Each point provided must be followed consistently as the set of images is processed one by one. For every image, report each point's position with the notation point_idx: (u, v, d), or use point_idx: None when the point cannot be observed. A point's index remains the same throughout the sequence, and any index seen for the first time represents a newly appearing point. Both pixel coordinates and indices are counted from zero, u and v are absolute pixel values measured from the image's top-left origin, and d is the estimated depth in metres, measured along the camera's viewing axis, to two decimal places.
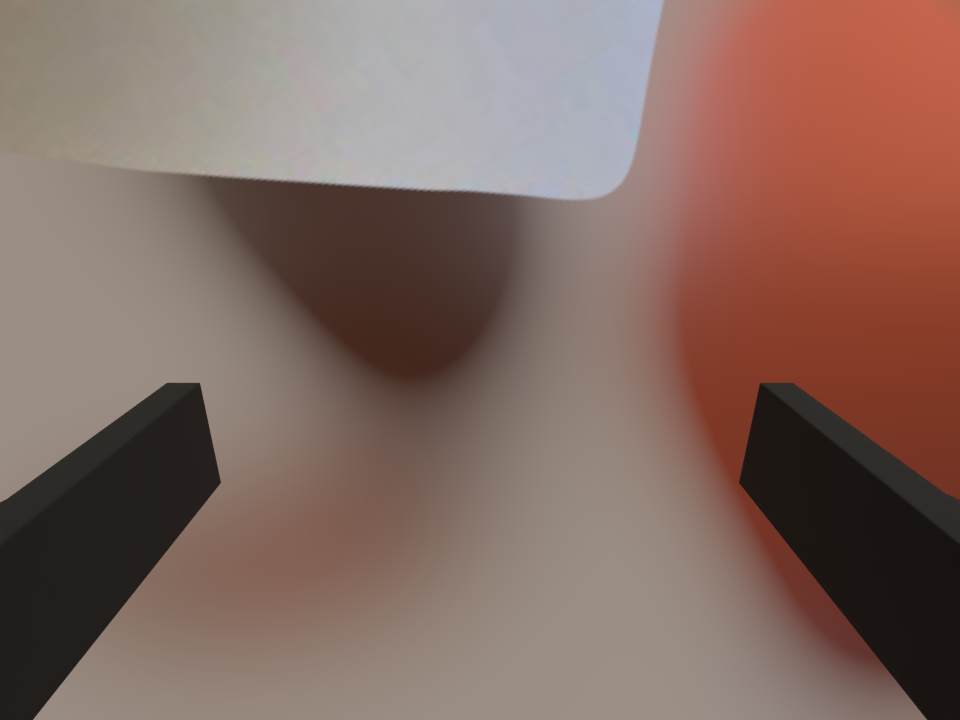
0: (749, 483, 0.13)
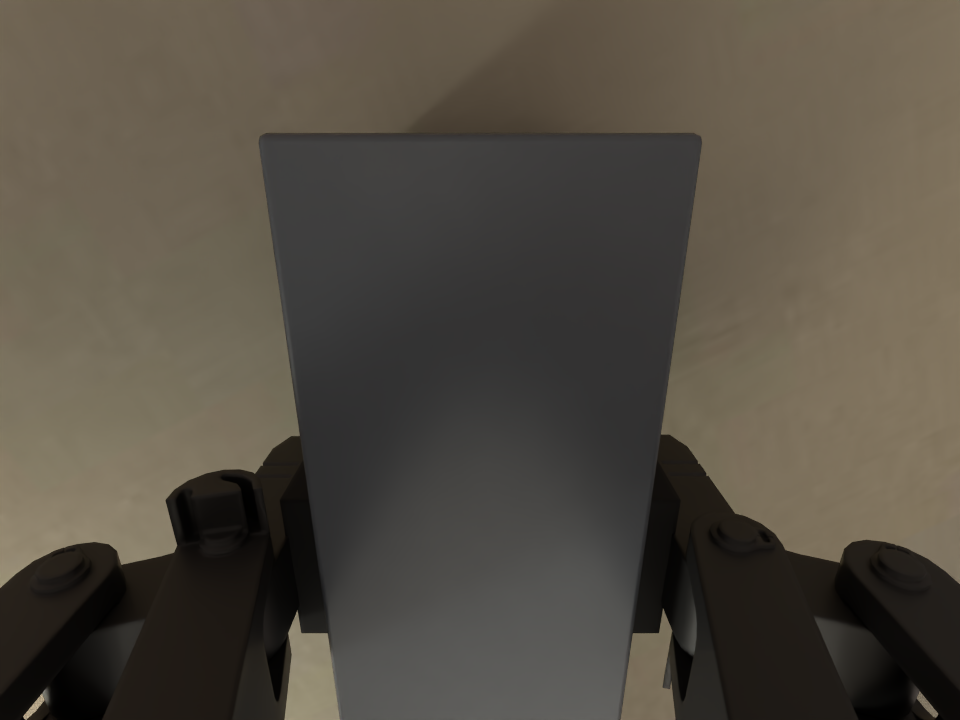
0: None
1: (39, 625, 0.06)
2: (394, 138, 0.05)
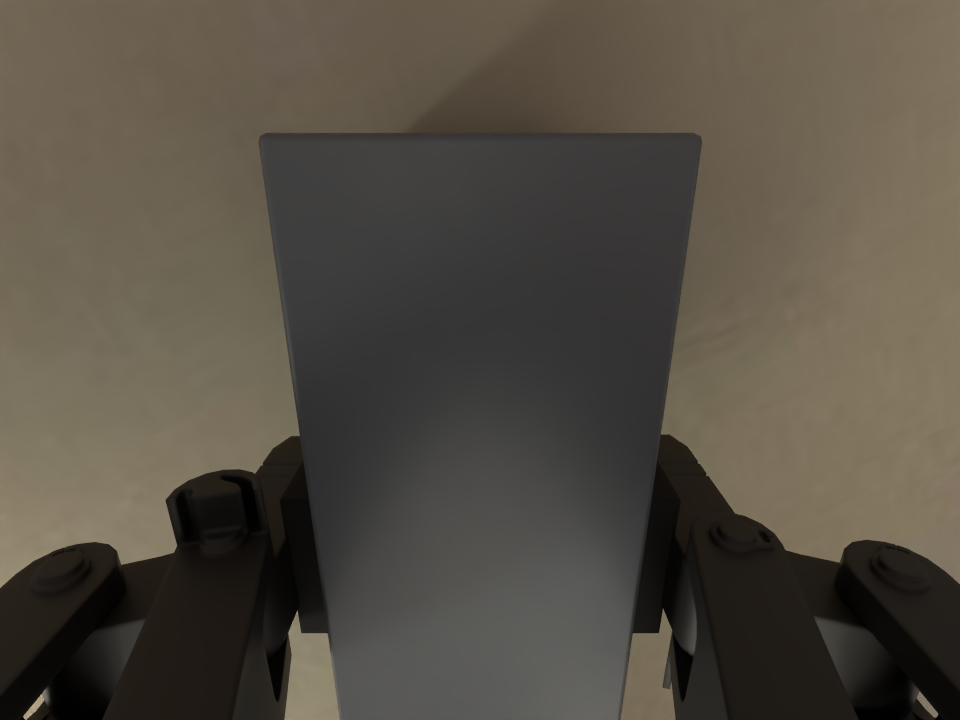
0: None
1: (39, 625, 0.06)
2: (394, 138, 0.05)
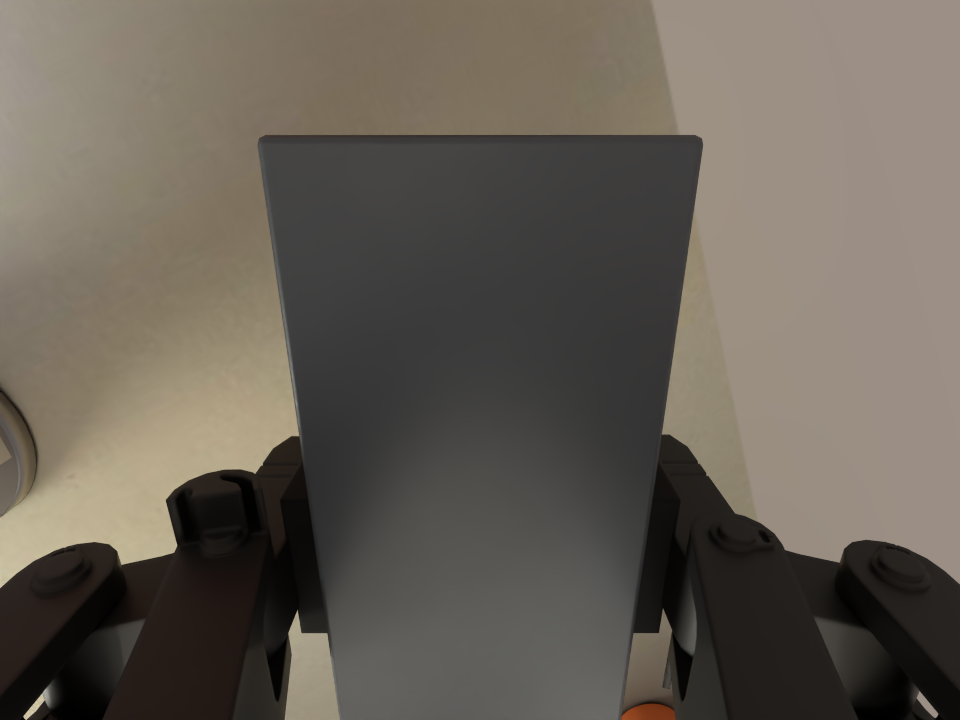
0: None
1: (39, 625, 0.06)
2: (394, 140, 0.05)
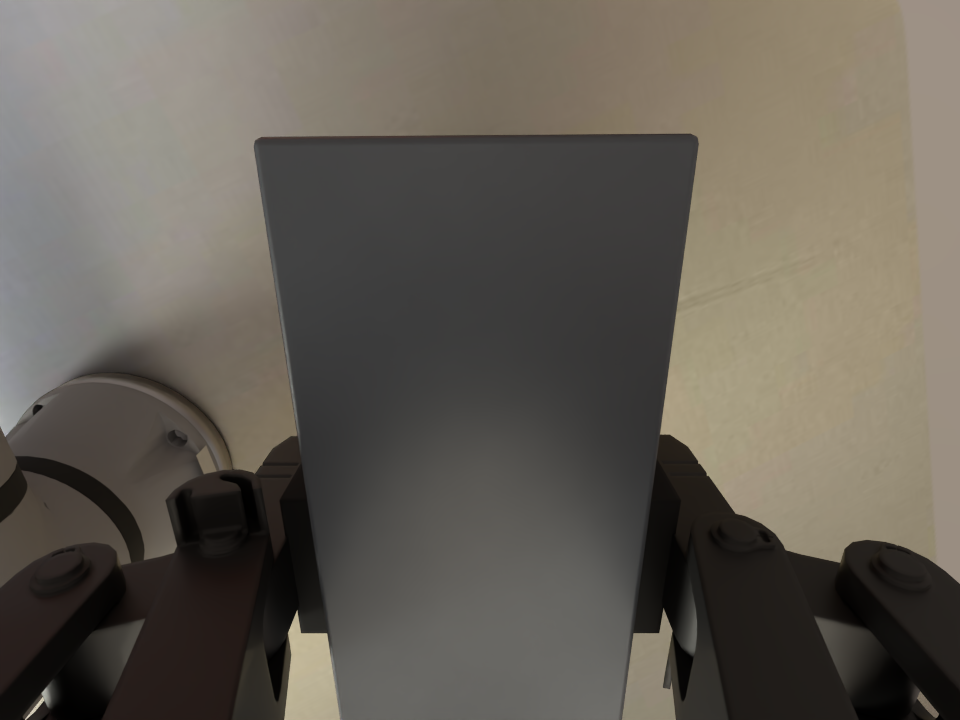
0: None
1: (38, 625, 0.06)
2: (389, 141, 0.05)
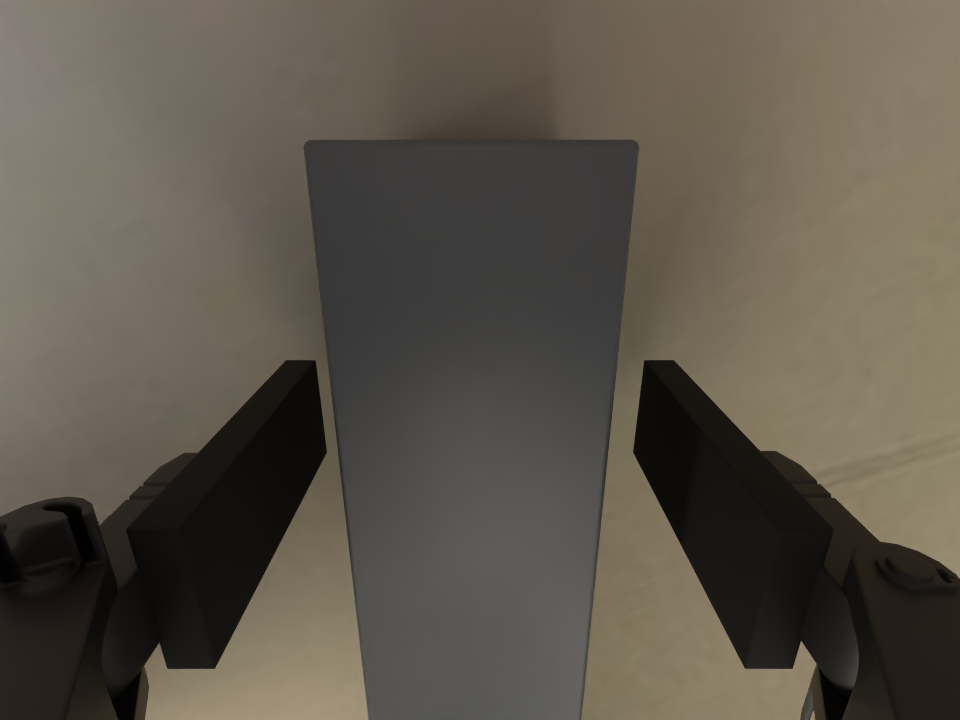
0: (638, 452, 0.14)
1: None
2: (406, 144, 0.07)
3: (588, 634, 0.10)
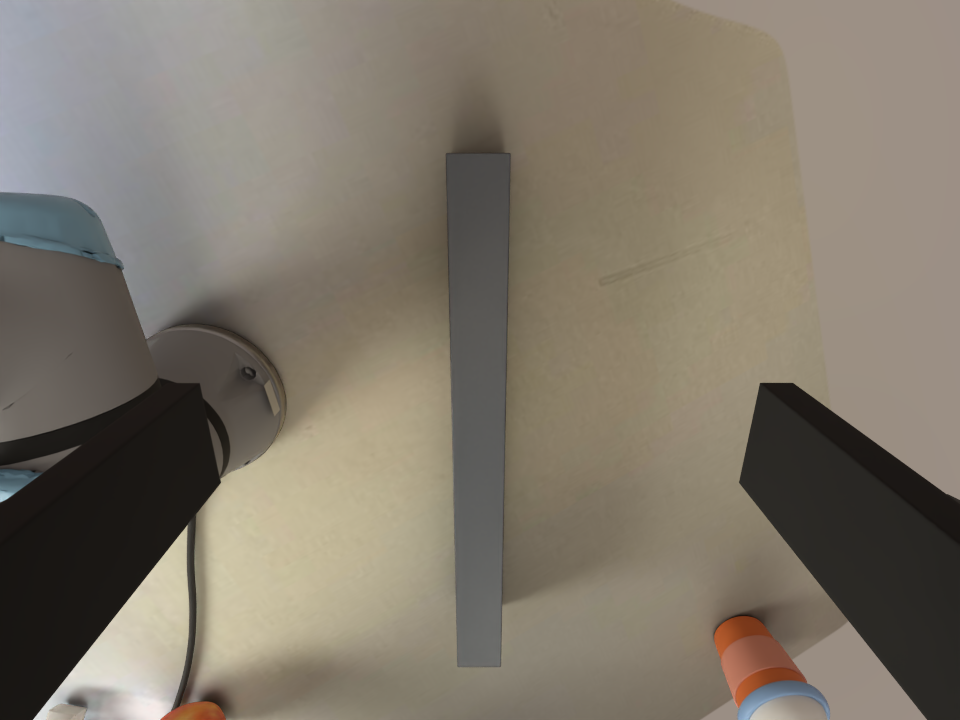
0: (749, 483, 0.13)
1: None
2: (465, 153, 0.37)
3: (507, 278, 0.40)
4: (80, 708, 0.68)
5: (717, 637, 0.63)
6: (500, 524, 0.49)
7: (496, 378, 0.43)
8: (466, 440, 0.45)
